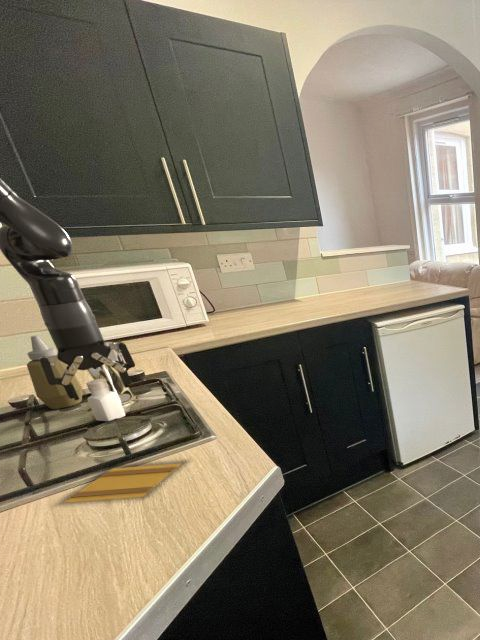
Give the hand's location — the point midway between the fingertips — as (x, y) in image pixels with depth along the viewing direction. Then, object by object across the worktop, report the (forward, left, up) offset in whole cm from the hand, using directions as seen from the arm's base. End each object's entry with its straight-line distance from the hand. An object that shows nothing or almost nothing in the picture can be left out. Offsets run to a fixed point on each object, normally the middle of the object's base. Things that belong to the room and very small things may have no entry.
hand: (102, 392), depth 95 cm
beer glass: (-6, +11, -7) cm, 14 cm away
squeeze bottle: (-19, +11, -7) cm, 23 cm away
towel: (+24, -29, -7) cm, 38 cm away
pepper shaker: (0, 0, -7) cm, 7 cm away
